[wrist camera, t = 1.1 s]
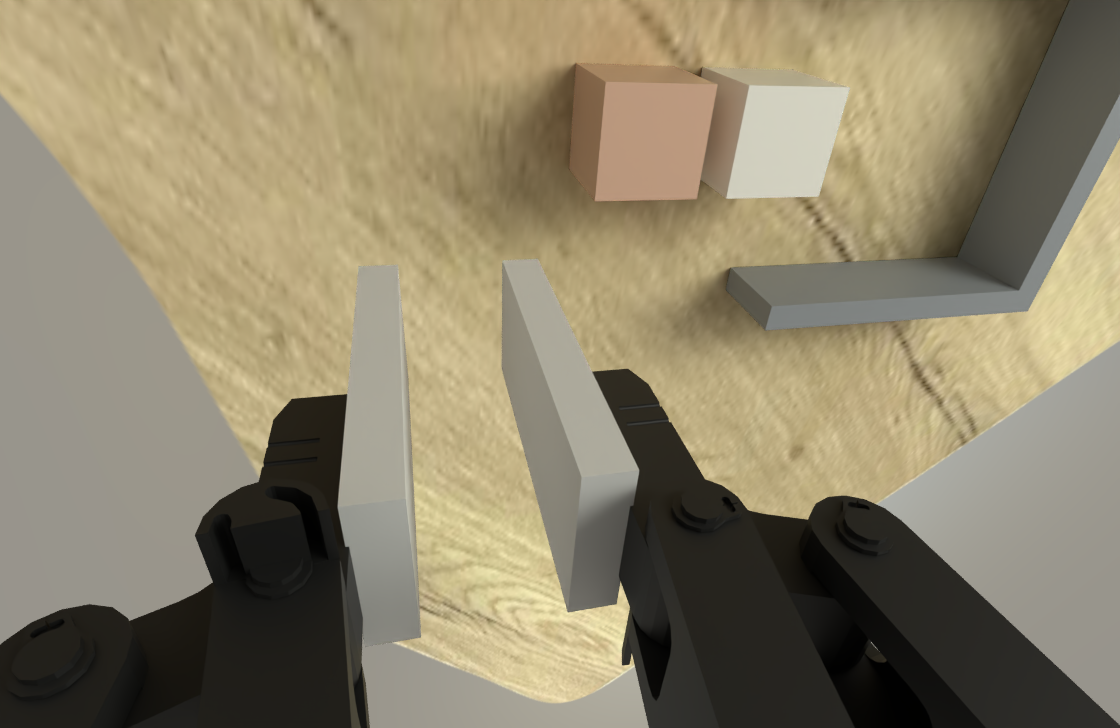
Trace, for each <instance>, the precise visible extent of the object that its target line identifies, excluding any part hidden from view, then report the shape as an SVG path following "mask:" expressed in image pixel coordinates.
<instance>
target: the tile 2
mask: <svg viewBox="0 0 1120 728" xmlns="http://www.w3.org/2000/svg"><path fill="white" fill-rule="evenodd" d="M701 78H704V79H706V80H708V81H711V82H713V83H715V84H718V85H717V91H716V96H715V102H714V107H713V113H712V118H711V124H710V129H709V135H708V140H707V146H706V151H705V157H704V162H703V168H702V173H701V180H702V181H703V182H705V183H706V184H707V185H709V186H710V187H711V188H713V189H714V190H715V191H717V192H718V193H719V194H721V195H722V196H723V197H725V198H726V199H735V198H776V197H818V196H819V193H820V190H821V186H822V183H823V179H824V176H825V173H826V169H827V166H828V162H829V159H830V155H831V152H832V148H833V145H834V141H835V138H836V134H837V131H838V128H839V124H840V121H841V117H842V114H843V110H844V107H845V103H846V100H847V96H848V93H849V89H850V87H847V86H844V85H841V84H838V83H834V82H831V81H828V80H825V79H822V78H818V77H815V76H812V75H809V74H805V73H802V72H799V71H796V70H793V69H759V68H721V67H702V73H701Z"/></svg>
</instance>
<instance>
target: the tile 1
mask: <svg viewBox="0 0 1120 728" xmlns="http://www.w3.org/2000/svg"><path fill="white" fill-rule="evenodd" d="M717 85H718V84H715V83H713V82H711V81H708V80H706V79H704V78H701V77H699V76H697V75H694V74H692V73H689V72H687V71H685V70H682V69H680V68H678V67H675V66H654V65H621V64H589V63H576V70H575V85H574V101H573V116H572V131H571V147H570V162H569V170H570V171H571V172H572V174H573V175H574V176H575V177H576V179H577V180H578V181H579V182H580V184H581V185H582V186H583V187H584V188H585V190H586V191H587V192H588V193H589V195H590V196H591V197H592V198H593V200H594V201H632V200H680V199H697V195H698V190H699V184H700V179H701V173H702V168H703V162H704V157H705V151H706V146H707V140H708V135H709V129H710V124H711V118H712V113H713V107H714V102H715V96H716V91H717Z"/></svg>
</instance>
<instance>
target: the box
mask: <svg viewBox="0 0 1120 728" xmlns="http://www.w3.org/2000/svg"><path fill="white" fill-rule="evenodd" d="M1119 138H1120V0H1069V3H1068V5H1067V7H1066V10H1065V12H1064V14H1063V16H1062V19H1061V21H1060V23H1059V26H1058V28H1057V30H1056V32H1055V35H1054V37H1053V39H1052V42H1051V44H1050V46H1049V48H1048V51H1047V53H1046V55H1045V58H1044V60H1043V62H1042V64H1041V67H1040V69H1039V71H1038V74H1037V76H1036V78H1035V80H1034V83H1033V85H1032V87H1031V90H1030V92H1029V94H1028V96H1027V99H1026V101H1025V103H1024V106H1023V108H1022V110H1021V112H1020V115H1019V117H1018V119H1017V122H1016V124H1015V126H1014V128H1013V131H1012V133H1011V135H1010V138H1009V140H1008V142H1007V144H1006V147H1005V149H1004V151H1003V153H1002V156H1001V158H1000V160H999V163H998V165H997V167H996V169H995V172H994V174H993V176H992V179H991V181H990V183H989V185H988V188H987V190H986V192H985V195H984V197H983V199H982V201H981V204H980V206H979V208H978V211H977V213H976V215H975V217H974V220H973V222H972V224H971V227H970V229H969V231H968V233H967V236H966V238H965V240H964V243H963V245H962V247H961V249H960V252H959V254H958V256H957V257H943V258H922V259H901V260H880V261H859V262H838V263H818V264H797V265H776V266H755V267H734V268H730V273H729V277H728V282H727V286H726V291H727V292H728V293H729V294H730V295H731V296H732V297H733V298H734V299H735V300H736V301H737V302H738V303H739V304H740V305H741V306H742V307H743V308H744V309H745V310H746V311H747V312H748V313H749V314H750V315H751V316H752V317H753V318H754V319H755V320H756V321H757V322H758V323H759V324H760V325H761V326H762V327H763V328H764V329H765V330H777V329H791V328H805V327H818V326H832V325H846V324H859V323H873V322H887V321H901V320H914V319H928V318H942V317H955V316H969V315H983V314H997V313H1010V312H1024V311H1028V309H1029V308H1030V306H1031V304H1032V302H1033V300H1034V298H1035V296H1036V294H1037V293H1038V291H1039V289H1040V287H1041V285H1042V283H1043V281H1044V279H1045V277H1046V276H1047V274H1048V272H1049V270H1050V268H1051V266H1052V264H1053V262H1054V261H1055V259H1056V257H1057V255H1058V253H1059V251H1060V249H1061V247H1062V246H1063V244H1064V242H1065V240H1066V238H1067V236H1068V234H1069V232H1070V230H1071V229H1072V227H1073V225H1074V223H1075V221H1076V219H1077V217H1078V215H1079V214H1080V212H1081V210H1082V208H1083V206H1084V204H1085V202H1086V200H1087V199H1088V197H1089V195H1090V193H1091V191H1092V189H1093V187H1094V185H1095V183H1096V182H1097V180H1098V178H1099V176H1100V174H1101V172H1102V170H1103V168H1104V167H1105V165H1106V163H1107V161H1108V159H1109V157H1110V155H1111V153H1112V152H1113V150H1114V148H1115V146H1116V144H1117V142H1118V140H1119Z"/></svg>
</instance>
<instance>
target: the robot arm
mask: <svg viewBox="0 0 1120 728" xmlns="http://www.w3.org/2000/svg"><path fill="white" fill-rule="evenodd" d="M502 371H503V375H504V379H505V382H506V386H507V390H508V393H509V397H510V401H511V404H512V408H513V412H514V416H515V419H516V423H517V427H518V430H519V434H520V438H521V441H522V445H523V449H524V452H525V456H526V460H527V464H528V467H529V471H530V475H531V478H532V482H533V486H534V489H535V493H536V497H537V500H538V504H539V508H540V512H541V515H542V519H543V523H544V526H545V530H546V534H547V537H548V541H549V545H550V548H551V552H552V556H553V560H554V563H555V567H556V571H557V574H558V578H559V582H560V585H561V589H562V593H563V596H564V600H565V604H566V607H567V611H568V612H573V611H579V610H585V609H591V608H596V607H602V606H608V605H614V604H617V598H618V592H619V586H620V581H621V583H622V586H623V589H624V592H625V594H626V597H627V600H628V603H629V605H630V611H629V616H628V621H627V626H626V632H625V637H624V642H623V647H622V665H629V664H630V659H631V654H632V655H633V659H634V664H635V668H636V672H637V676H638V681H639V686H640V690H641V694H642V699H643V703H644V707H645V712H646V716H647V721H648V725H649V728H1120V725H1118V723H1117V722H1116V721H1114V720H1113V719H1112V718H1111V717H1110V716H1109V715H1108V714H1107V713H1106V712H1105V711H1104V710H1103V709H1102V708H1101V707H1100V706H1099V705H1097V704H1096V703H1095V702H1094V701H1093V700H1092V699H1091V698H1090V697H1089V696H1088V695H1087V694H1086V693H1085V692H1084V691H1083V690H1082V689H1080V688H1079V687H1078V686H1077V685H1076V684H1075V683H1074V682H1073V681H1072V680H1071V679H1070V678H1069V677H1067V675H1065V674H1064V673H1063V672H1062V671H1061V670H1060V669H1059V668H1058V667H1057V666H1056V665H1055V664H1054V663H1053V662H1052V661H1051V660H1050V659H1048V658H1047V657H1046V656H1045V655H1044V654H1043V653H1042V652H1041V651H1039V649H1038V648H1037V647H1036V646H1034V644H1032V643H1031V642H1030V641H1029V640H1028V639H1027V638H1026V637H1025V636H1024V635H1023V634H1022V633H1021V632H1019V630H1017V629H1016V628H1015V627H1014V626H1013V625H1012V624H1011V623H1010V622H1009V621H1008V620H1007V619H1006V618H1005V617H1004V616H1003V615H1001V614H1000V613H999V612H998V611H997V610H996V609H995V608H994V607H993V606H992V605H991V604H990V603H989V602H988V601H987V600H985V599H984V598H983V597H982V596H981V595H980V594H979V593H978V592H977V591H976V590H975V589H974V588H973V587H972V586H971V585H969V584H968V583H967V582H966V581H965V580H964V579H963V578H962V577H961V576H960V575H959V574H958V573H957V572H956V571H955V570H953V569H952V568H951V567H950V566H949V565H948V564H947V563H946V562H945V561H944V560H943V559H942V558H941V557H940V556H938V555H937V554H936V553H935V552H934V551H933V550H932V549H931V548H930V547H929V546H928V545H927V544H926V543H925V542H924V541H923V540H921V539H920V538H919V537H918V536H917V535H916V534H915V533H914V532H913V531H912V530H911V529H910V528H909V527H908V526H907V525H905V524H904V523H903V522H902V521H901V520H900V519H898V518H897V517H896V516H894V515H893V514H891V513H890V512H889V511H887V510H886V509H885V508H883V507H880V506H878V505H876V504H874V503H872V502H869V501H867V500H865V499H860V498H855V497H850V496H834V497H827V498H825V499H824V500H822V501H820V502H818V503H816V504H815V506H814V508H813V510H812V512H811V514H810V516H809V519H808V520H806V519H798V518H790V517H783V516H775V515H767V514H762V513H757V512H752V511H749V510H747V509H746V507H745V506H744V505H743V503H742V502H741V501H740V499H739V498H738V497H737V496H736V495H735V494H733V493H732V492H730V491H729V490H728V489H726V488H725V487H723V486H722V485H719V484H716V483H714V482H711V481H708V480H705V479H704V477H703V475H702V474H701V472H700V470H699V469H698V467H697V465H696V464H695V462H694V460H693V458H692V457H691V455H690V453H689V452H688V450H687V448H686V447H685V445H684V443H683V442H682V440H681V438H680V437H679V435H678V433H677V432H676V430H675V428H674V427H673V425H672V423H671V422H669V420H668V419H669V418H668V416H667V415H666V413H665V411H664V410H663V408H662V407H660V405H659V401H658V400H657V398H656V396H655V395H654V393H653V391H652V390H651V388H650V386H649V384H647V383H646V382H645V381H643V380H642V379H641V378H639V377H638V376H637V375H635V374H634V373H633V372H631V371H630V370H629V369H619V370H607V371H595V372H592V371H591V369H590V367H589V364H588V362H587V360H586V358H585V356H584V354H583V352H582V350H581V348H580V346H579V344H578V342H577V339H576V337H575V335H574V333H573V331H572V329H571V327H570V325H569V323H568V321H567V319H566V317H565V314H564V312H563V310H562V308H561V306H560V304H559V302H558V300H557V298H556V296H555V294H554V292H553V289H552V287H551V285H550V283H549V281H548V279H547V277H546V275H545V273H544V271H543V269H542V267H541V264H540V262H539V260H538V259H524V260H502ZM263 463H264V467H262V470H261V475H260V479H259V482H257V483H254V484H251V485H247V486H244V487H241V488H240V489H238V490H236V491H235V492H233V493H231V494H229V495H228V496H226V497H224V498H222V499H221V500H219V501H218V502H217V503H216V504H215V505H214V506H213V507H212V508H211V509H210V510H209V512H208V513H206V514H205V515H204V516H203V518H202V521H201V523H200V525H199V527H198V529H197V532H196V534H195V537H196V539H197V542H198V544H199V547H200V550H201V552H202V555H203V557H204V560H205V562H206V565H207V568H208V570H209V573H210V576H211V578H212V580H213V583H211V584H210V585H208V586H207V587H205V588H204V589H203V590H201V591H200V592H198V593H196V594H194V595H192V596H190V597H187V598H185V599H183V600H181V601H179V602H177V603H174V604H172V605H169V606H167V607H164V608H161V609H159V610H156V611H154V612H151V613H149V614H146V615H144V616H141V617H138V618H136V619H133V620H131V621H129V620H128V618H127V617H125V616H124V615H122V614H121V613H120V612H118V611H117V610H115V609H114V608H113V607H106V606H98V605H90V604H89V605H83V606H79V607H73V608H68V609H62V610H59V611H57V612H55V613H53V614H50V615H48V616H46V617H43V618H41V619H39V620H36V621H34V622H32V623H30V624H29V625H27V626H26V627H24V628H23V629H21V630H20V631H18V632H17V633H16V634H14V635H13V636H11V637H10V638H9V639H7V640H6V641H4V642H3V643H2V644H1V645H0V728H370V725H369V714H368V704H367V693H366V682H365V678H364V673H363V668H362V663H361V660H362V634H363V639H364V644H365V647H367V646H373V645H379V644H384V643H391V642H397V641H402V640H408V639H414V638H420V637H421V625H420V605H419V585H418V565H417V544H416V524H415V504H414V484H413V464H412V443H411V423H410V403H409V383H408V369H407V358H406V347H405V337H404V326H403V315H402V305H401V294H400V283H399V273H398V265H380V266H359V268H358V279H357V291H356V302H355V314H354V325H353V336H352V348H351V359H350V371H349V382H348V394H344V395H333V396H321V397H309V398H297V399H291V401H290V402H289V403H288V404H287V405H286V406H285V407H284V409H283V410H282V411H281V412H280V413H279V414H278V415H277V417H276V418H275V419H274V420H273V424H272V428H271V433H270V437H269V441H268V448H267V449H266V454H265V458H264V462H263ZM871 642H872V643H873V644H874V645H875V647H876V648H877V649H878V650H879V651H880V652H879V651H878V650H877V649H876V648H875V647H874V646H873V645H872V643H871Z"/></svg>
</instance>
